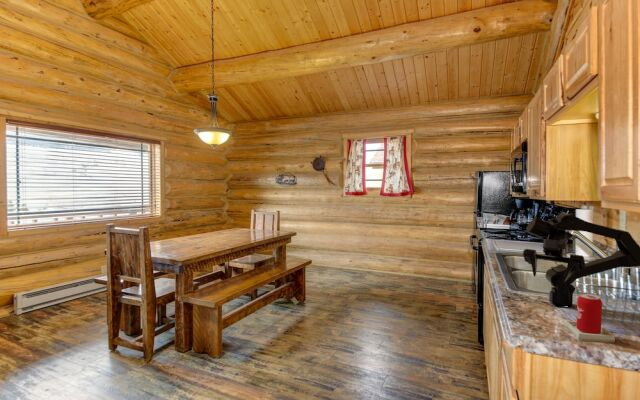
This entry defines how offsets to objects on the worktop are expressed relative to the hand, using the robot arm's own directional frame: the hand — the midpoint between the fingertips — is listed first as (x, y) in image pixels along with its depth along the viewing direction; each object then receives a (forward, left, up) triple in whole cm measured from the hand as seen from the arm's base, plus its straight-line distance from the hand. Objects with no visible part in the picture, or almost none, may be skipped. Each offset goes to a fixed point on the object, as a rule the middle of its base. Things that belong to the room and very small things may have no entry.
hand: (548, 278), depth 125 cm
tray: (-7, +14, -14) cm, 20 cm away
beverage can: (-7, +14, -13) cm, 20 cm away
